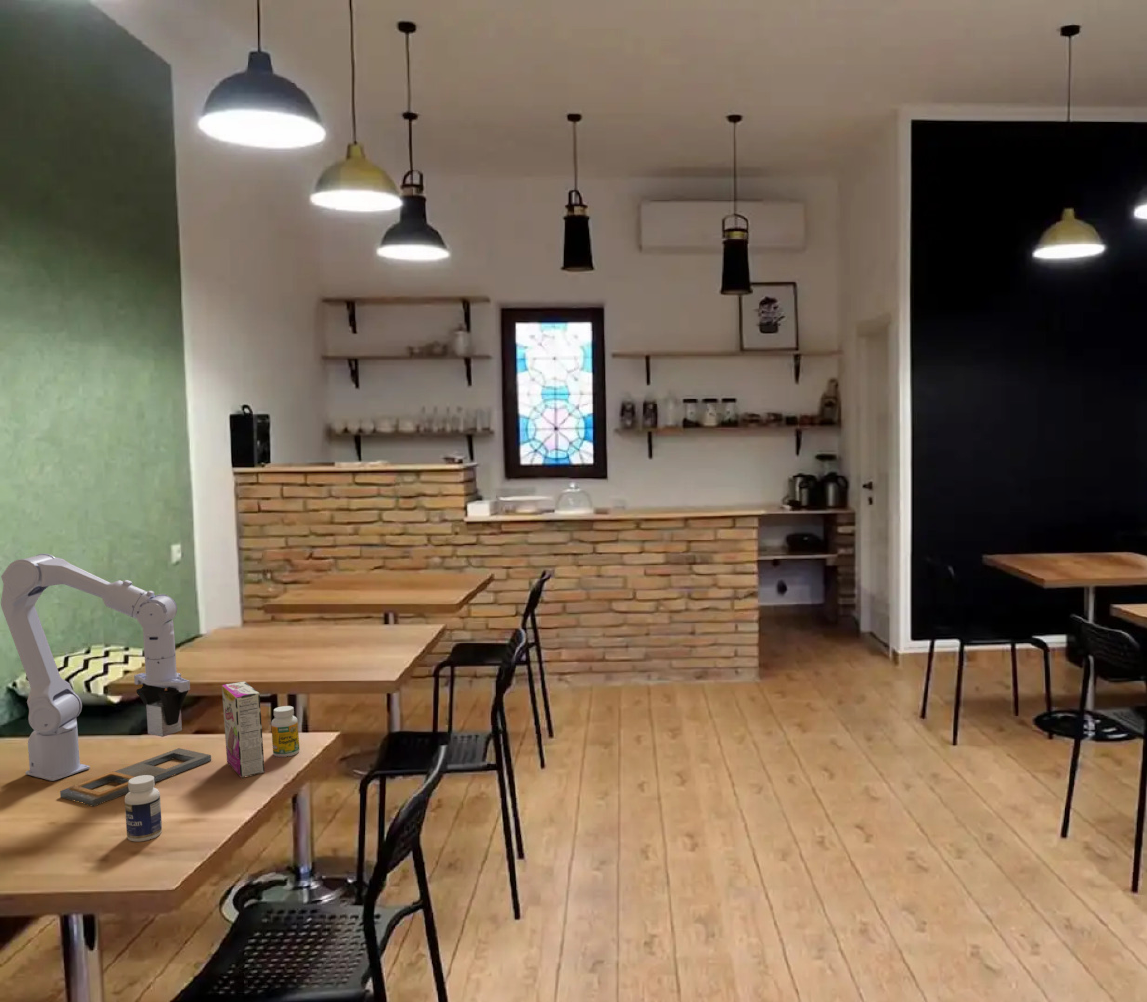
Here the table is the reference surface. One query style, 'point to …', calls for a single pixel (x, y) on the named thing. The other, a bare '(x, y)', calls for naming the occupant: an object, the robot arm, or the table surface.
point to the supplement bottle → (285, 732)
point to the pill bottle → (143, 809)
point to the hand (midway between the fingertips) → (164, 722)
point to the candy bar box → (243, 728)
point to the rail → (122, 776)
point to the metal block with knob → (160, 720)
